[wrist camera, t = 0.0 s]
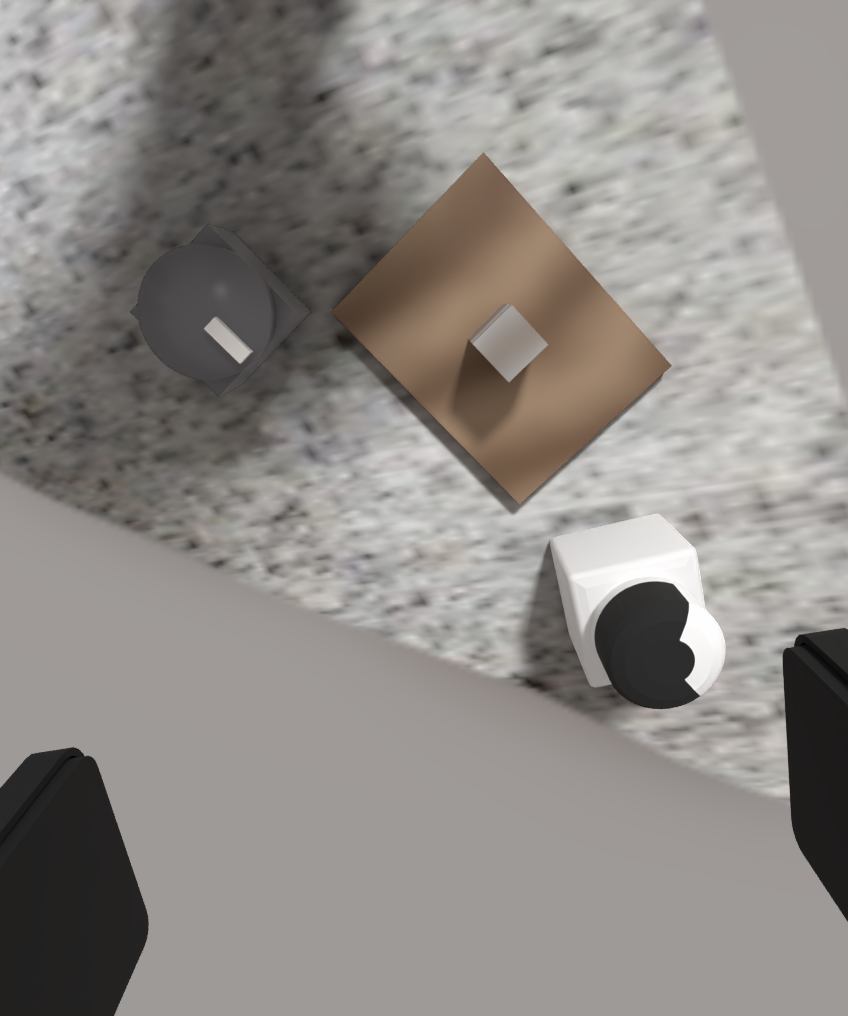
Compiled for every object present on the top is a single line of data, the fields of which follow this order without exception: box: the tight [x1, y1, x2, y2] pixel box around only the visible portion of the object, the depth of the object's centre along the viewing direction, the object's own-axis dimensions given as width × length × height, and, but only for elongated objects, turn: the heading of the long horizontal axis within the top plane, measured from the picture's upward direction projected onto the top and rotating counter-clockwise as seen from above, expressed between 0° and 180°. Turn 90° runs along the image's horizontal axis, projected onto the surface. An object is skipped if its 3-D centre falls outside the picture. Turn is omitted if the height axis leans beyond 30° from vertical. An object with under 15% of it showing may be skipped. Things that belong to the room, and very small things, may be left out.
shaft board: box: [331, 152, 671, 504], centre depth 42 cm, size 16×12×6 cm
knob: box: [130, 224, 311, 397], centre depth 41 cm, size 7×7×7 cm
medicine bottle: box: [550, 514, 726, 709], centre depth 43 cm, size 7×7×12 cm
